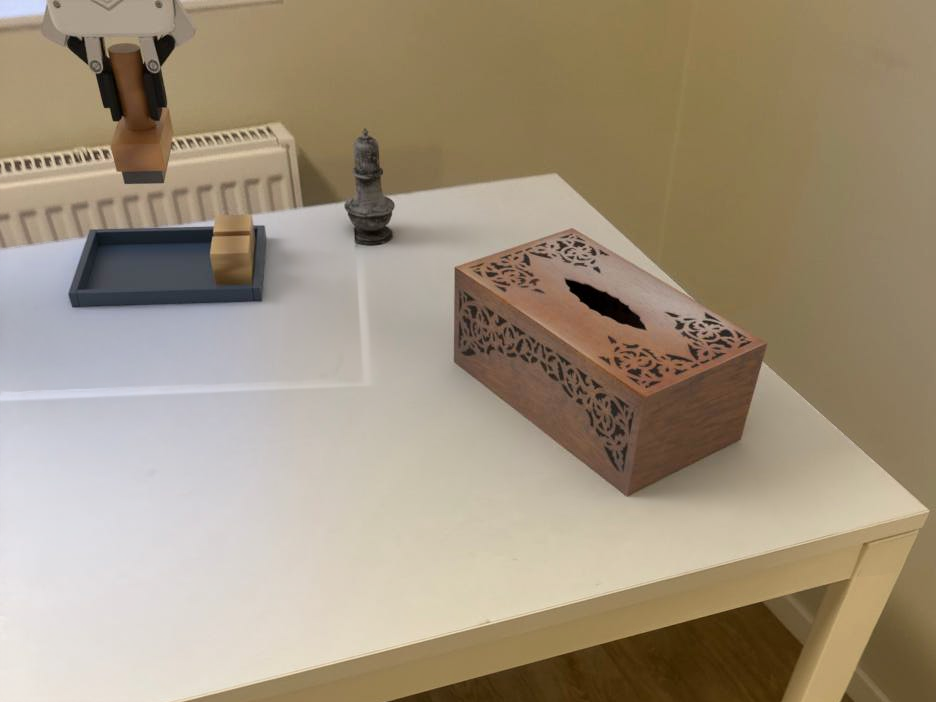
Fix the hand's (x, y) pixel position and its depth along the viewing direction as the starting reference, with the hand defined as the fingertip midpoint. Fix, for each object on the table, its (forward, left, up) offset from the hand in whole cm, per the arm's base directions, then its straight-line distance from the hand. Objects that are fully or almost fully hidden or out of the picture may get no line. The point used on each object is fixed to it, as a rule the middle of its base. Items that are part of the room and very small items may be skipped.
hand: (137, 113), depth 89 cm
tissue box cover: (+41, -21, -19) cm, 50 cm away
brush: (0, 0, -5) cm, 5 cm away
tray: (-1, +6, -19) cm, 20 cm away
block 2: (+6, +3, -18) cm, 19 cm away
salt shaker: (+21, +15, -19) cm, 32 cm away
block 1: (+6, +8, -18) cm, 21 cm away
